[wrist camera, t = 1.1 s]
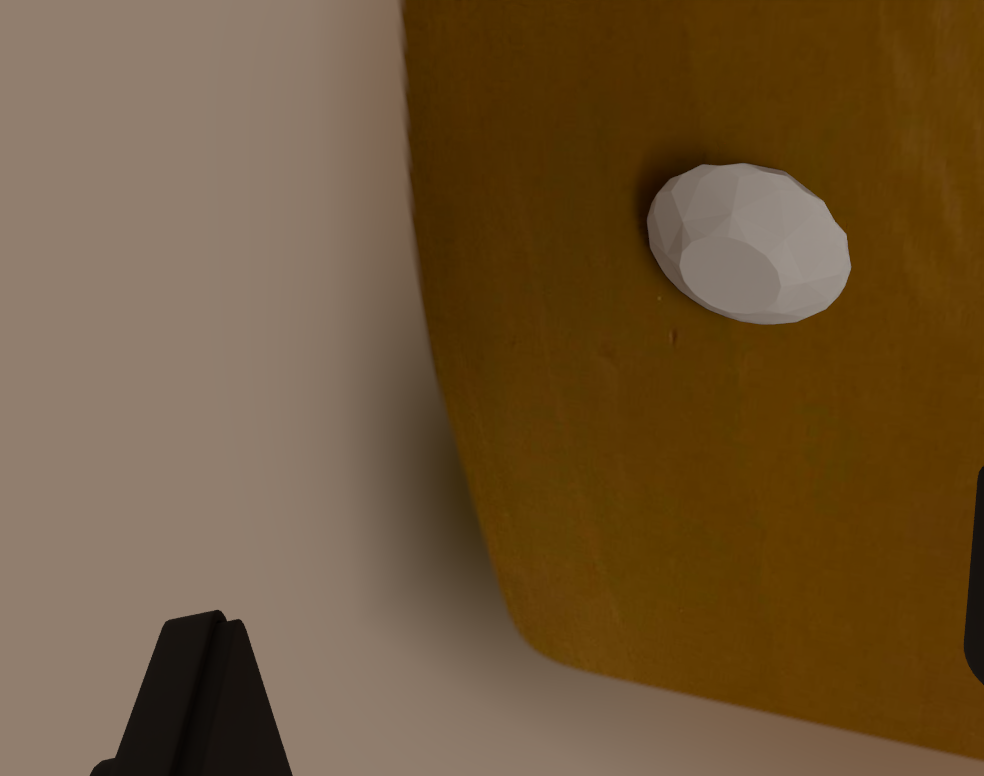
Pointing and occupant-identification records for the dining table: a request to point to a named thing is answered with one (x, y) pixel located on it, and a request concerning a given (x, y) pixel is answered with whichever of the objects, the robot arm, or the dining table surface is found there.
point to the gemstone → (748, 243)
